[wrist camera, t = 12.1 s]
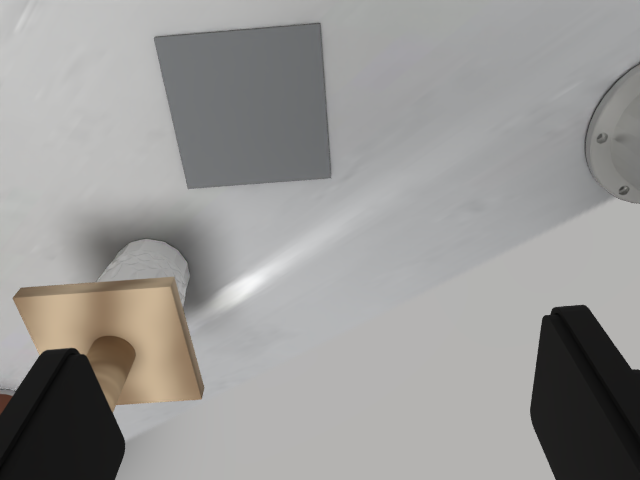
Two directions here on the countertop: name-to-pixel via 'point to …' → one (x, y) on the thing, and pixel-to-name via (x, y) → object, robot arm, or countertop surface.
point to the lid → (119, 335)
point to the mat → (247, 104)
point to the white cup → (149, 264)
